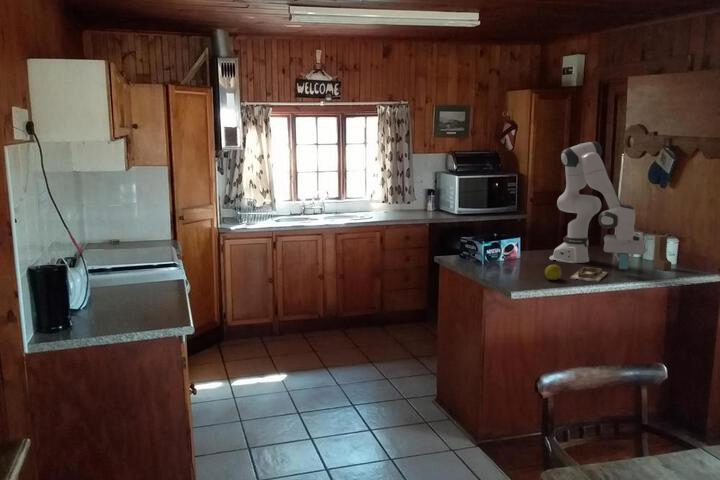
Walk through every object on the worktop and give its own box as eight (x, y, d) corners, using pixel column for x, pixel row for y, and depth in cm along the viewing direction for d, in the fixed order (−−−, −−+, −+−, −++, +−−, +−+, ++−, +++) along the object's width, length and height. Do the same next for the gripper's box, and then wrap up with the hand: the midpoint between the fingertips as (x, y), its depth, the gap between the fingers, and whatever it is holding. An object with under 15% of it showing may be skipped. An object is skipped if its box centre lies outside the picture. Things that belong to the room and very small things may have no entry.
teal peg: (618, 268, 331) (619, 253, 330) (620, 267, 334) (620, 252, 333) (626, 269, 329) (627, 254, 328) (628, 267, 332) (628, 252, 331)
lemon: (551, 282, 320) (552, 267, 318) (540, 279, 326) (540, 264, 325) (566, 279, 325) (567, 264, 324) (555, 276, 332) (555, 262, 330)
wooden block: (671, 270, 340) (673, 237, 337) (664, 270, 339) (666, 238, 336) (660, 266, 349) (662, 234, 346) (653, 267, 348) (655, 235, 345)
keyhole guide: (570, 278, 327) (570, 273, 326) (580, 271, 343) (580, 265, 343) (598, 281, 319) (598, 276, 319) (607, 273, 336) (607, 268, 335)
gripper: (602, 235, 331) (601, 260, 334) (645, 238, 321) (643, 264, 323) (605, 233, 336) (604, 258, 339) (646, 236, 326) (645, 261, 328)
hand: (623, 261), depth 331 cm, fingers closed on teal peg, 4 cm apart
